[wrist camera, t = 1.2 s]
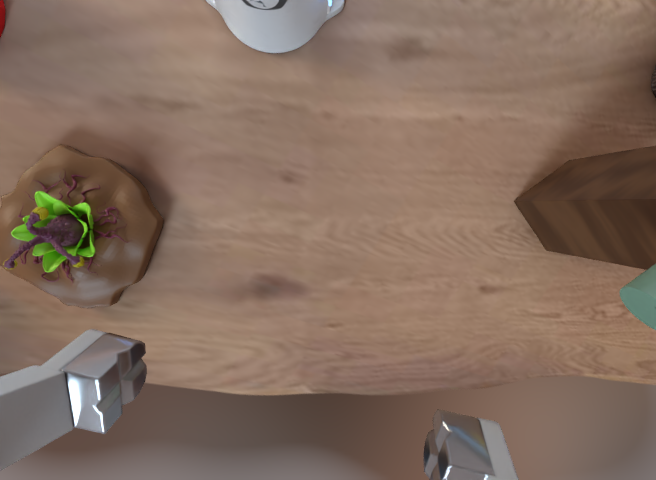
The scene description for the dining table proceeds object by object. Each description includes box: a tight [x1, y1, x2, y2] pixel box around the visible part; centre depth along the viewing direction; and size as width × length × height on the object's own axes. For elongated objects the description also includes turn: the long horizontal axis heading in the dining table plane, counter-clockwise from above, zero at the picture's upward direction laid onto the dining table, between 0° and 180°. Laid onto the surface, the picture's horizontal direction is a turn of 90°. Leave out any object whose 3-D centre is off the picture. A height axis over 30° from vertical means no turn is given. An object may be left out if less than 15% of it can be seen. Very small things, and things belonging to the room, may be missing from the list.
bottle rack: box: [514, 146, 656, 270], centre depth 41 cm, size 11×10×26 cm
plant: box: [0, 145, 163, 308], centre depth 45 cm, size 20×20×11 cm
